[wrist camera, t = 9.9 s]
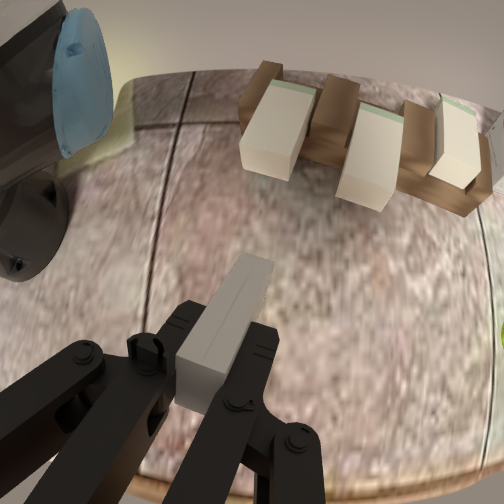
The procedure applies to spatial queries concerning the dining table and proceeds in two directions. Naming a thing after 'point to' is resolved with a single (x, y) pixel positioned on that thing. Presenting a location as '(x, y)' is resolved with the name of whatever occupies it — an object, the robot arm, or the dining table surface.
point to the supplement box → (497, 153)
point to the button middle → (372, 158)
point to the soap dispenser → (503, 335)
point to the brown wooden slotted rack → (340, 130)
